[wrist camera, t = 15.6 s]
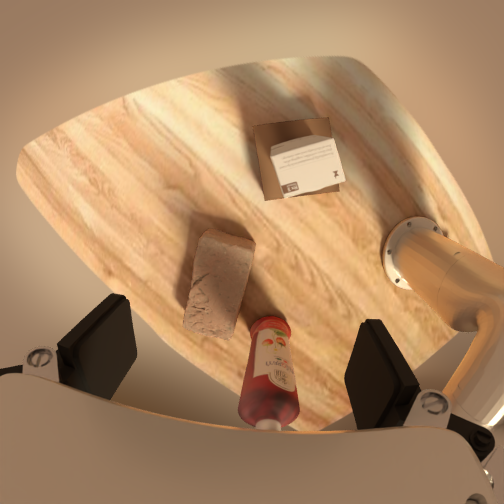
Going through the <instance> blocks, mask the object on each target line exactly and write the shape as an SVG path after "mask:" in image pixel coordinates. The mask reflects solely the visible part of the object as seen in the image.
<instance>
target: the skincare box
mask: <svg viewBox="0 0 504 504" xmlns="http://www.w3.org/2000/svg"><path fill="white" fill-rule="evenodd" d="M270 158H271V161H272V164H273V167H274V170H275V173H276V176H277V179H278V182H279V185H280V188H281V191H282V194H283V197H284V198H288V197H291V196H295V195H298V194H302V193H305V192H312V191H316V190H320V189H322V188H324V187H327V186H331V185H334V184H338V183H341V182H345V181H346V178H345V175H344V172H343V168H342V165H341V161H340V157H339V154H338V150H337V147H336V143H335V140H334V138H330V137H325V136H318V135H310V136H305V137H301V138H297V139H293V140H290V141H286V142H283V143H280V144H277V145H274V146H272V147H271V154H270Z"/></svg>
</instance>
